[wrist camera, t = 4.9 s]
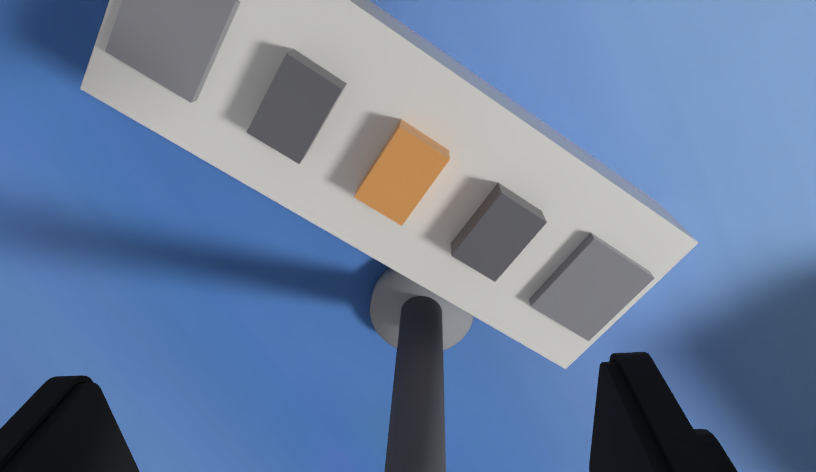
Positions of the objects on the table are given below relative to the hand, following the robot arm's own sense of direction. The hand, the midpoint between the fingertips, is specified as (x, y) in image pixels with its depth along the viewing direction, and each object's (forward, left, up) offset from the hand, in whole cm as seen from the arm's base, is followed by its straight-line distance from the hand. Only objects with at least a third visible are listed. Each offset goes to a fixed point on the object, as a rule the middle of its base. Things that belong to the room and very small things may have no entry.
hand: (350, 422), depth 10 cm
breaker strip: (0, 0, -19) cm, 19 cm away
